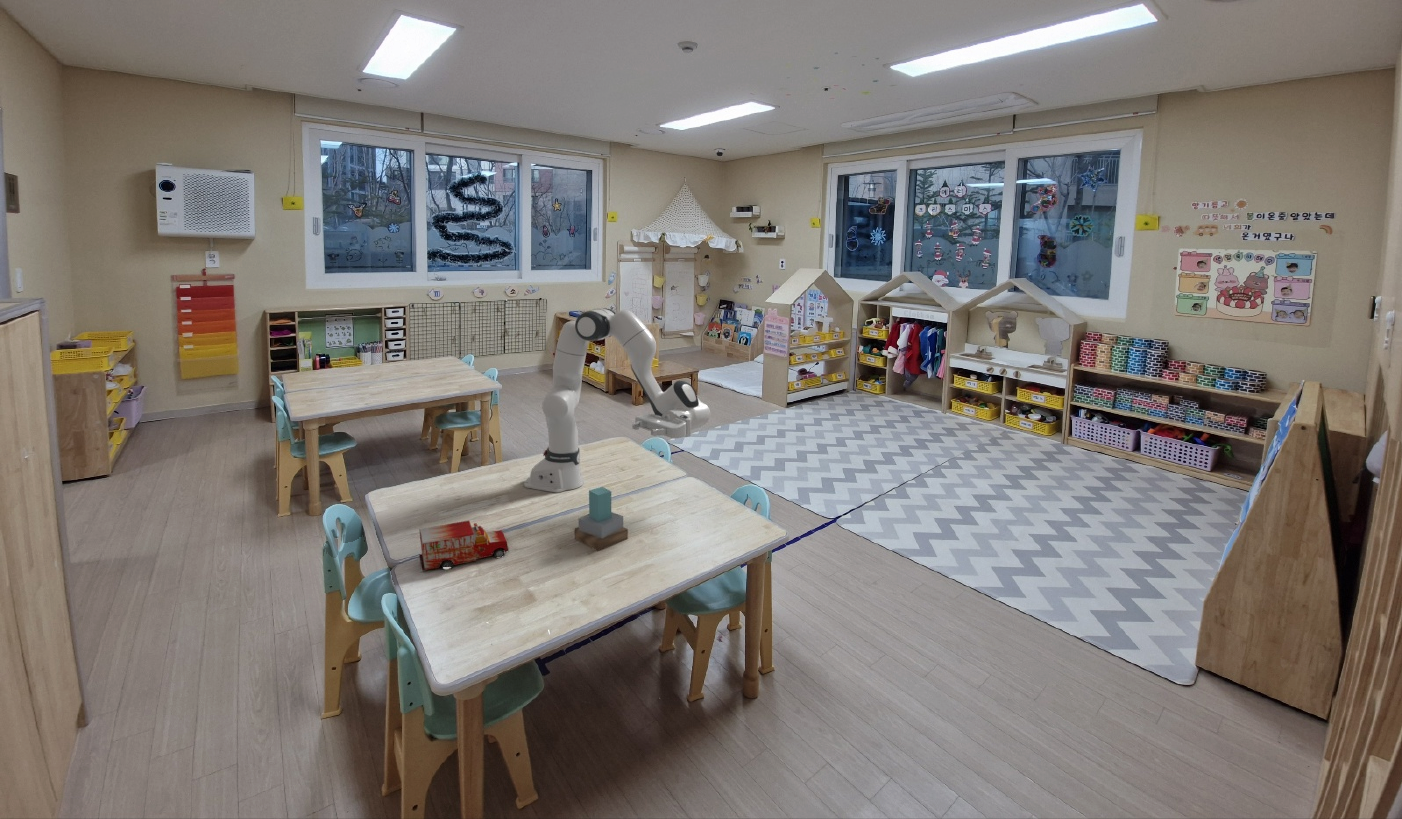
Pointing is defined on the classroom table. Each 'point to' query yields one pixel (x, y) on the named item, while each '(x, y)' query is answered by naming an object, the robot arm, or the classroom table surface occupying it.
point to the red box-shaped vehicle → (458, 544)
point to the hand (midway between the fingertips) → (642, 430)
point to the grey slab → (600, 525)
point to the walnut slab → (601, 543)
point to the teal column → (600, 504)
